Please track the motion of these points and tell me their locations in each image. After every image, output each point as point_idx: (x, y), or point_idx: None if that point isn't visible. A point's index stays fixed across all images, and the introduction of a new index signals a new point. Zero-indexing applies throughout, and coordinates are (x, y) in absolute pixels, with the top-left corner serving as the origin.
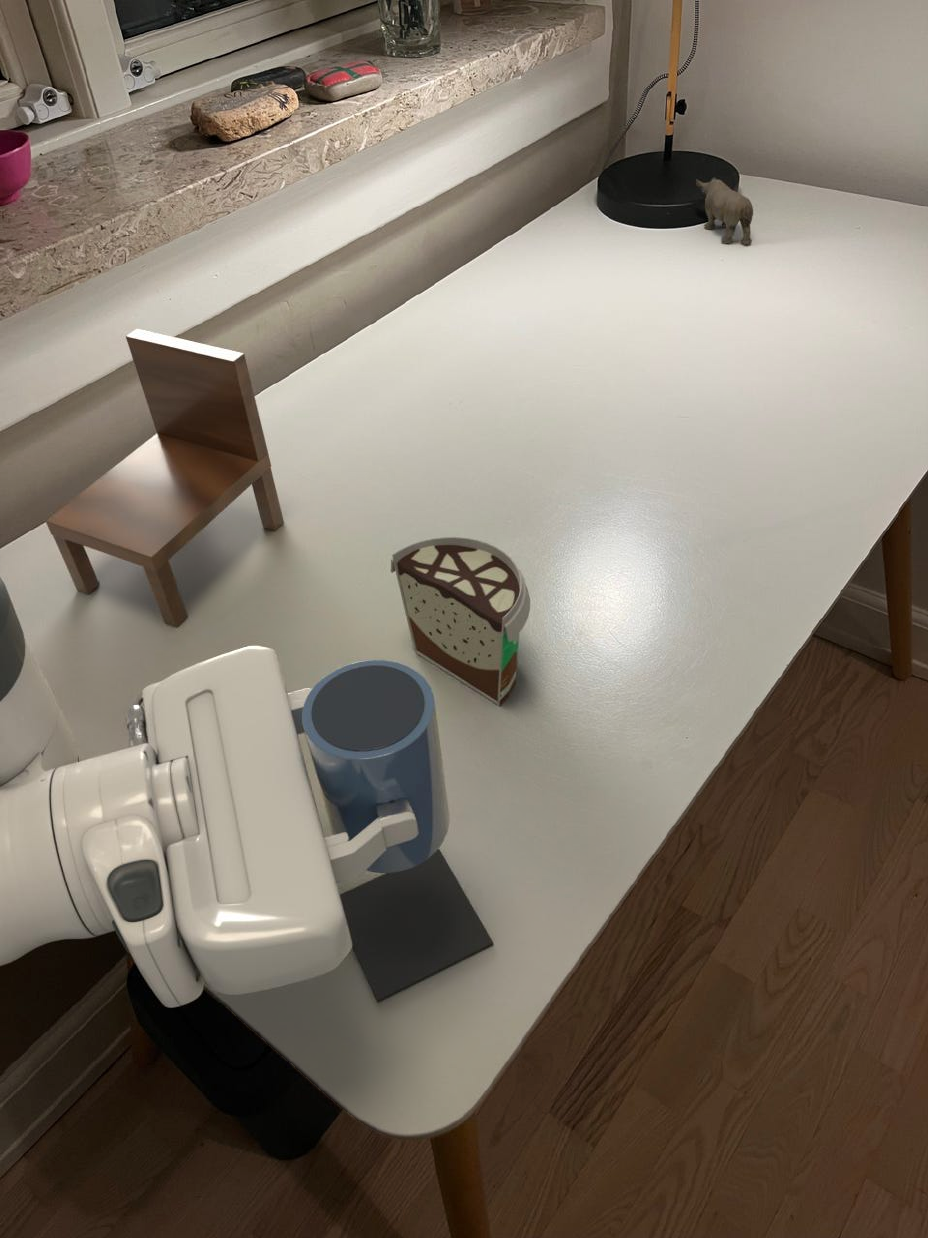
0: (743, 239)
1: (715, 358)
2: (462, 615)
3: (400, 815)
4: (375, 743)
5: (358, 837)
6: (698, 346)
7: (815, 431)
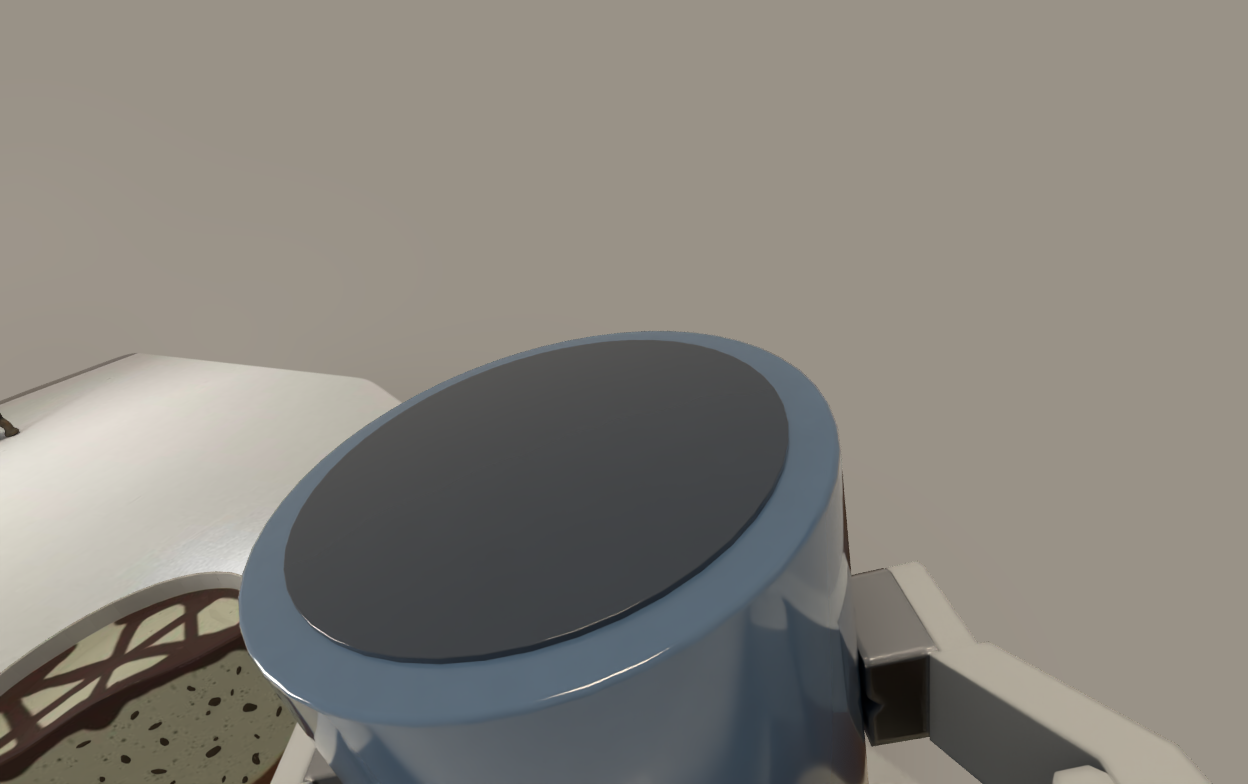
0: (8, 431)
1: (102, 468)
2: (174, 709)
3: (908, 588)
4: (753, 408)
5: (1067, 720)
6: (70, 478)
7: (267, 421)
